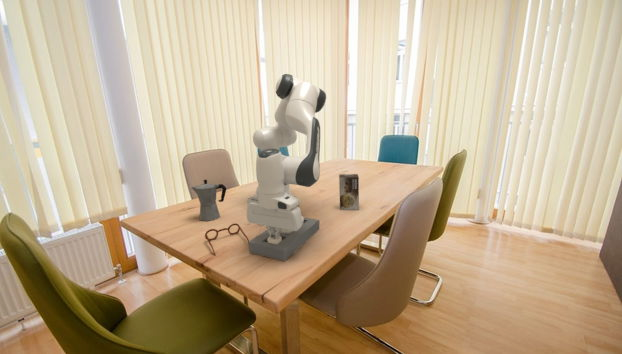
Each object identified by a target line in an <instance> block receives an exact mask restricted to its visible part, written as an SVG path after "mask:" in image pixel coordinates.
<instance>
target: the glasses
mask: <svg viewBox="0 0 622 354" xmlns="http://www.w3.org/2000/svg"><path fill="white" fill-rule="evenodd" d="M233 226H237V227H238V228H237V230H236V231H235V232H231V231H230V229H231V228H232V227H233ZM223 231H227V233H228V234H229V235H232V236H234V235H236V234H238V233H239V232H241V234H242V235H243V237H245V239H246V240H247V242H248V244H249V241H250V239H249V238H248V235H247V234H246V233H245V231H244V230H243V229H242V227H241V226H240V224H239V223H232V224H230V225H229V226H228V227H225V228H221V229H219V230H218V229H216V228H211V229H208V230H207V231H205V234H204V239H206V240H207V241H208V243H209V245H210V248H211V250H212V253H213V256H216V252H215V249H214V247H213V244H212V242H211V241H213V240H216V239H217V238H218V236H219V233H220V232H223ZM210 232H215V233H216V235H215V236H214V237H212V238H209V235H208V234H209V233H210Z"/></svg>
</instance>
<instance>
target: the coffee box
mask: <svg viewBox="0 0 622 354" xmlns="http://www.w3.org/2000/svg"><path fill="white" fill-rule="evenodd" d="M338 178H339V180H338V182H339V185H338V186H339V211H342V210H345V211H348V210H349V211H354V210H356V211H357V210H358V211H359V209H360V207H359V206H360V205H359V204H360V203H359V200H360V198H359V197H360V196H359V195H360V194H359V190H360V187H359V186H360V185H359V183H360V182H359V181H360V179H359V173H350V174H349V173H347V174H345V173H343V174H339V175H338Z"/></svg>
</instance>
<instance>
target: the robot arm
mask: <svg viewBox="0 0 622 354" xmlns="http://www.w3.org/2000/svg"><path fill="white" fill-rule="evenodd" d="M326 94H327V93H326V92H325V91H324V90H323V89H321V88H320V87H317V86H315V85H314V84H312V83H311V82H309V81H308V80H307V81H306V80H303V79H301V78H299V77H296V76H293V75H292V74H289V73H285V74H282V75H281V77H279V79H278V80H277V82H276V85H275V95H276V96H277V97H278V98H279V99H280V102H279V104H278V106H277V108H276V110H275V112H274V119H275V122H276V123H277V124H276V125H275V126H267V127H261V128H259V129H256V130H255V131H254V132H253V135H252V142H253V145H254V146H255V147H256V148H257V149H258V150H259V151H258V153H257V155H256V162H255V173H256V176H255V177H256V180H257V183H258V186H257V187H256V190H255V191H256V192H255V194H254V195H253V196H250V197H248V198H247V200H246V202H247V203H246V204H247V208H246V220H247V222H248V223H249V224H255V225H260V226H264V227H265V230H268V232H269V233H270V238H274V239H279V238H280V232H281V230H282V229H286V230H291V231H297V230H299V229H300V228H301V227H302V217H303V215H302V209H301V208H300V205H299V204H300V199H299V198H298V197H297V196H295V197H294V195H292V192H291V188H290V185H296V186H301V187H306V188H307V187H308V188H309V187H310V188H311V187H312V186H313V185H314V184H316V183H317V182H318V180H319V179H320V175H321V173H320V172H321V167H320V149H321V125H320V120H318V118H317V117H316V115H315V114H316V113H319V112H320V111H321V110H322V109H323V108H324V106H325V105H326V102H327V101H326V100H327V95H326ZM298 133H300V134H303V135H305V136H306V144H305V154H304V155H302V156H291V155H290V156H289V155H285V154H282V152H281V150H280V148H284V147H289V146H292V145H293V144H295V143H296V141H297V139H298V135H297V134H298ZM297 205H299V206H297ZM272 227H275V230H277V231H276V232H274V230H273V228H272Z"/></svg>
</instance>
